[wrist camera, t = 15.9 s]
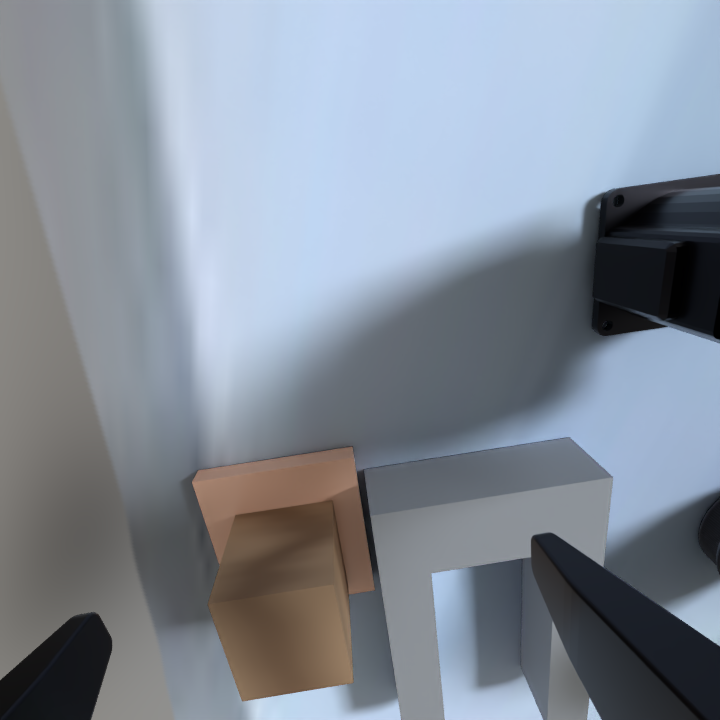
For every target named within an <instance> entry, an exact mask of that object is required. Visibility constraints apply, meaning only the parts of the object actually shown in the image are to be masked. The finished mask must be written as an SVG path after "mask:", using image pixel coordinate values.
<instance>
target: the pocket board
mask: <svg viewBox="0 0 720 720" xmlns="http://www.w3.org/2000/svg"><path fill="white" fill-rule="evenodd" d="M364 474H365V481H366V488H367V496H368V503H369V510H370V517H371V523H372V530H373V537H374V543H375V550H376V556H377V563H378V570H379V576H380V583H381V589H382V596H383V602H384V609H385V616H386V622H387V629H388V635H389V642H390V648H391V655H392V662H393V668H394V675H395V681H396V688H397V695H398V701H399V708H400V714H401V720H445V719H444V708H443V697H442V686H441V675H440V664H439V653H438V642H437V631H436V620H435V609H434V598H433V587H432V576H431V573H436V572H442V571H449V570H455V569H461V568H467V567H473V566H479V565H485V564H491V563H497V562H504V561H510V560H516V559H522V626H521V668H522V671H523V673H524V675H525V678H526V680H527V682H528V685H529V687H530V689H531V692H532V694H533V697H534V699H535V701H536V704H537V706H538V708H539V711H540V713H541V715H542V718H543V720H587V714H588V705H589V695H588V693H587V691H586V689H585V688H584V686H583V684H582V682H581V680H580V678H579V676H578V675H577V673H576V671H575V669H574V667H573V665H572V663H571V661H570V659H569V657H568V655H567V652H566V650H565V648H564V646H563V643H562V641H561V639H560V636H559V634H558V632H557V629H556V627H555V625H554V622H553V620H552V618H551V615H550V613H549V611H548V608H547V606H546V604H545V601H544V599H543V597H542V594H541V592H540V590H539V587H538V585H537V582H536V580H535V578H534V575H533V572H532V567H531V538H532V536H533V535H536V534H541V533H547V532H551V533H554V534H556V535H557V536H559V537H560V538H562V539H563V540H565V541H566V542H567V543H569V544H570V545H572V546H573V547H575V548H576V549H578V550H579V551H581V552H582V553H584V554H585V555H586V556H588V557H589V558H591V559H592V560H594V561H595V562H597V563H598V564H600V565H601V566H604V557H605V548H606V539H607V530H608V520H609V511H610V502H611V493H612V483H613V477H612V476H611V475H610V474H609V473H608V472H607V471H606V470H605V469H604V468H602V467H601V466H600V465H599V464H598V463H597V462H596V461H595V460H594V459H593V458H592V457H590V456H589V455H588V454H587V453H586V452H585V451H584V450H583V449H582V448H581V447H580V446H579V445H577V444H576V443H575V442H574V441H573V440H572V439H571V438H570V437H569V438H562V439H556V440H549V441H543V442H537V443H530V444H524V445H517V446H511V447H504V448H498V449H492V450H485V451H479V452H472V453H466V454H460V455H453V456H447V457H440V458H434V459H428V460H421V461H415V462H408V463H402V464H396V465H389V466H383V467H376V468H370V469H364Z"/></svg>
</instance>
